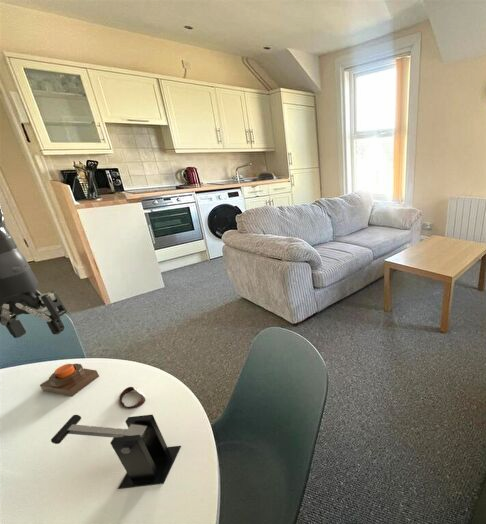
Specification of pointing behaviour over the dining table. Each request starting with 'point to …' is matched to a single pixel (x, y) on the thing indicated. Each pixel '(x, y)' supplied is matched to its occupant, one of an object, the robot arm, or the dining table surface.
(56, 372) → the button
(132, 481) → the bracket
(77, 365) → the button block
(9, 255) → the robot arm
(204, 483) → the dining table surface
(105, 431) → the lever
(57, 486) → the dining table surface
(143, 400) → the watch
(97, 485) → the dining table surface
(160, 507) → the dining table surface
